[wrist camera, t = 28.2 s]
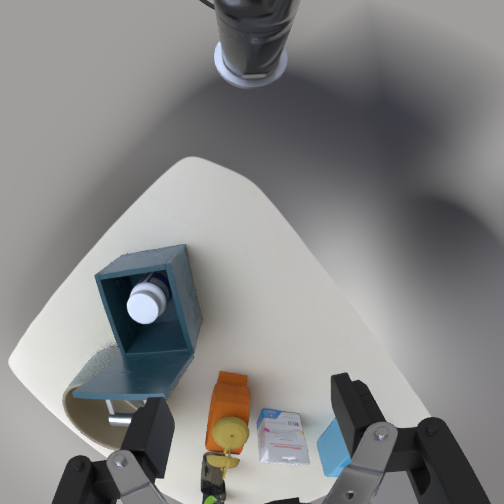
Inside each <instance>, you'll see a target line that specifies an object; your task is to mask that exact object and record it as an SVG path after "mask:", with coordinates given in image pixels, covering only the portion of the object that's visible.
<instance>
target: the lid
mask: <svg viewBox="0 0 504 504" xmlns="http://www.w3.org/2000/svg"><path fill="white" fill-rule="evenodd" d="M193 359H194V354H193V353H184V354H172V355H160V356H145V357H127V358H120V359H119V360H118V361H116V362H115V363H113V364H112V365H110V366H109V367H107V368H106V369H105V370H103V371H102V372H100V373H99V374H97V375H96V376H94V377H93V378H92V379H90V380H89V381H87V382H86V383H84V384H83V385H81V386H80V387H78V388H77V389H76V390H74V391H73V392H72V393H73V396H74V398H83V399H100V400H106V403H107V406H108V409H109V412H110V413H109V422H110V424H111V425H112V426H123V427H129V424H130V423H131V419H132V416H133V414H134V413H135V412H117V411H116V408H115V405H114V402H113V400H143V401H144V404H145V403H146V401H147V398H148V397H164V398H165V400H167V398H168V397H169V395H170V394H171V392H172V391H173V389H174V388H175V386H176V385H177V383H178V382H179V380H180V378H181V377H182V375H183V374H184V372H185V371H186V369H187V368H188V366H189V365H190V363H191V362H192V360H193Z"/></svg>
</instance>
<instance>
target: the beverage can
mask: <svg viewBox="0 0 504 504" xmlns="http://www.w3.org/2000/svg"><path fill="white" fill-rule="evenodd" d="M220 498H221V496H220ZM202 504H224V501H218V500H216V498H214V497H213V496H210V495H206V494H204V493H203V501H202Z"/></svg>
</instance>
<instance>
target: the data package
mask: <svg viewBox="0 0 504 504" xmlns="http://www.w3.org/2000/svg"><path fill="white" fill-rule="evenodd" d="M317 448H318V452H319V455H320V459H321V463H322V467H323V471H324V474H325V476H327V477H339V475H340V473H341V471H342V470H343V468H344V467H345V466H346V465H348V464H349V463H350V461H351V458H350V455H349V452H348V450H347V447H346V444H345V441H344V438H343V436H342V433H341V430H340V427H339V425H338V422H337V419H336V418H335V419H334V421H333V422H332V423H331V424H330V426H329V427H328V428H327V430H326V431H325V432H324V433H323V435H322V436H321V437H320V438H319V440H318V442H317Z"/></svg>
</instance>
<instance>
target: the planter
mask: <svg viewBox="0 0 504 504" xmlns="http://www.w3.org/2000/svg"><path fill="white" fill-rule="evenodd" d="M120 358H123V357H122V354H121V352H120V349H119V347H113V348H107V349H104V350H101V351H99V352H98V353H96V354H95V355H94V356H93V357H92V358H91V359H90V360H89V361H88V362H87V363H86V365H85V366H84V367H83V368H82V370H81V371H80V372H79V373H78V374H77V376H76V377H75V378H74V380H73V381H72V382H71V383H70V385H69V386H68V388H67V389H66V391H65V392H64V394H63V400H62V401H63V407H64V410H65V413H66V415H67V416H68V418H69V420H70V421H71V422H72V424H73V425H74V426H75V427H76V428H77V429H78V430H79V431H80V432H81V433H82V434H83V435H85V436H86V437H87V438H89V439H90V440H92V441H93V442H95V443H97V444H99V445H101V446H103V447H106V448H108V449H111V450H115V451H117V450H120V448H121V445H122V442H123V440H124V437H125V434H126V432H127V429H128V427H123V426H112V425H111V424H110V422H109V413H110V412H109V409H108V406H107V403H106V400H100V399H83V398H74V396H73V393H72V392H73V391H74V390H76V389H77V388H78V387H80V386H81V385H83V384H84V383H86V382H87V381H89V380H90V379H92V378H93V377H94V376H96V375H97V374H99V373H100V372H102V371H103V370H105V369H106V368H107V367H109V366H110V365H112V364H113V363H115V362H116V361H118V360H119V359H120ZM113 402H114V405H115V408H116V411H117V412H136V411H137V409H138V408H139V407H144V406H145V404H144V401H143V400H113Z"/></svg>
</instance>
